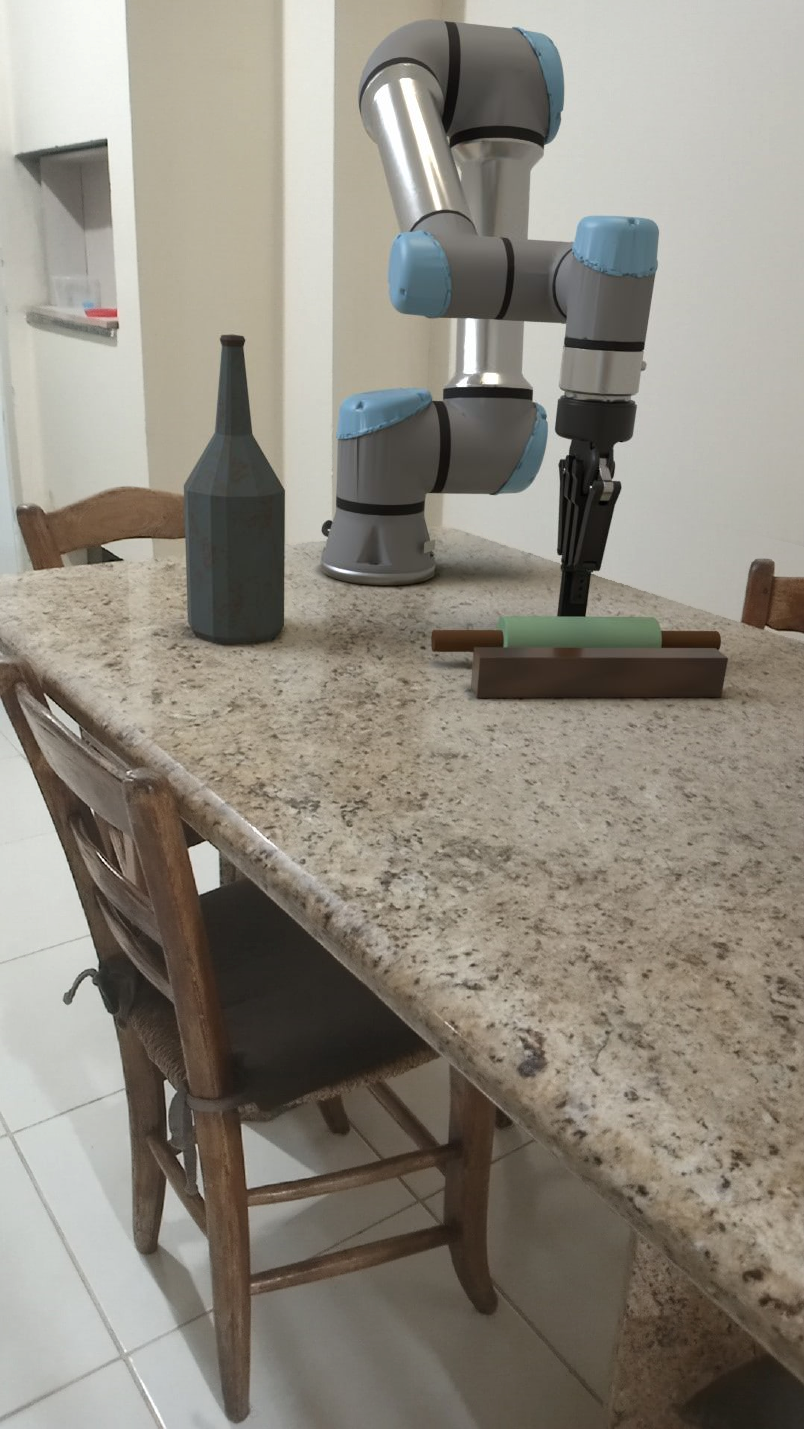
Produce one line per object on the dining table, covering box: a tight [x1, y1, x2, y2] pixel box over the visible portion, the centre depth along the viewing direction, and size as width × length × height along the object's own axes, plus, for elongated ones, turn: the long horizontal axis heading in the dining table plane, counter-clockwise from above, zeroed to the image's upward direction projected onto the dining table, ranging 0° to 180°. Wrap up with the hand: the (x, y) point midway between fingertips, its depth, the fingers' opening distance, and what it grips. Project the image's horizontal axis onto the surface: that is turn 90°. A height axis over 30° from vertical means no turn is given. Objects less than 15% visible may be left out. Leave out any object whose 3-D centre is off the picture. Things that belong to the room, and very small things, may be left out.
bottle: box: [183, 333, 286, 646], centre depth 104 cm, size 10×10×30 cm
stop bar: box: [470, 647, 729, 699], centre depth 97 cm, size 24×3×4 cm, turn 98°
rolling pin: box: [430, 615, 722, 653], centre depth 104 cm, size 30×5×5 cm
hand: (569, 629), depth 107 cm, fingers closed
